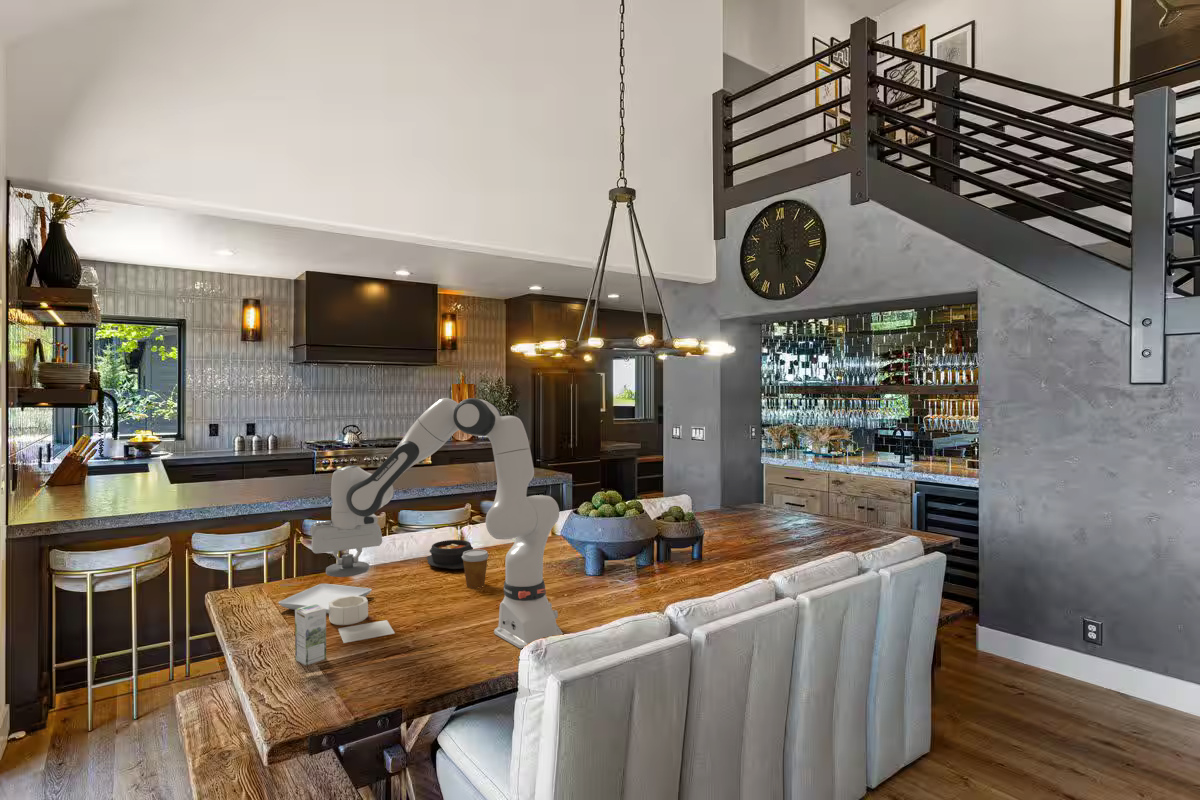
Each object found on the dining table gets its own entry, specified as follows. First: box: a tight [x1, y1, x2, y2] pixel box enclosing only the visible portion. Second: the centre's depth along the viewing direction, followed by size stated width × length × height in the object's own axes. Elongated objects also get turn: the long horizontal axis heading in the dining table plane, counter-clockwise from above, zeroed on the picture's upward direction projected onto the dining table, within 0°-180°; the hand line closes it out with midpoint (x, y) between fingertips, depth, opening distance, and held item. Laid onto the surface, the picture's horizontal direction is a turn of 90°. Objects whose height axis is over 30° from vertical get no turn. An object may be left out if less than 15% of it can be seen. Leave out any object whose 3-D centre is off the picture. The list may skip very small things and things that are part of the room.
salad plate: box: [277, 583, 372, 615], centre depth 219 cm, size 21×21×3 cm
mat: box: [337, 619, 396, 644], centre depth 193 cm, size 12×14×1 cm
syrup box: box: [294, 604, 327, 666], centre depth 174 cm, size 6×6×14 cm
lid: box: [325, 553, 370, 578], centre depth 203 cm, size 12×12×5 cm
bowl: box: [328, 596, 369, 626], centre depth 203 cm, size 11×11×6 cm
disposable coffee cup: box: [462, 549, 490, 589], centre depth 237 cm, size 10×10×12 cm
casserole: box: [426, 539, 474, 570], centre depth 263 cm, size 25×19×8 cm
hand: (347, 563), depth 203 cm, fingers closed on lid, 3 cm apart
